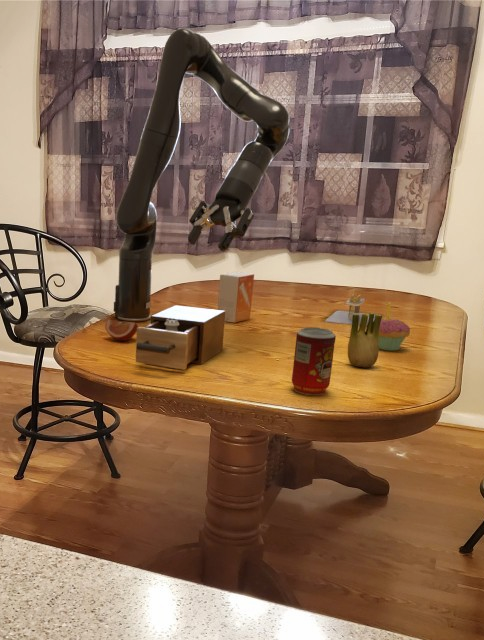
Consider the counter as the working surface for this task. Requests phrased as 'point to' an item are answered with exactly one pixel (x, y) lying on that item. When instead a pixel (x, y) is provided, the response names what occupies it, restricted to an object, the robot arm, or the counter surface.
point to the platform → (347, 316)
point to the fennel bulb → (364, 340)
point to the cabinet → (209, 327)
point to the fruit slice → (121, 329)
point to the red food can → (313, 360)
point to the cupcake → (392, 332)
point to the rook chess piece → (171, 324)
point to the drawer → (167, 345)
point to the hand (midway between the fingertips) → (205, 245)
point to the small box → (236, 296)
